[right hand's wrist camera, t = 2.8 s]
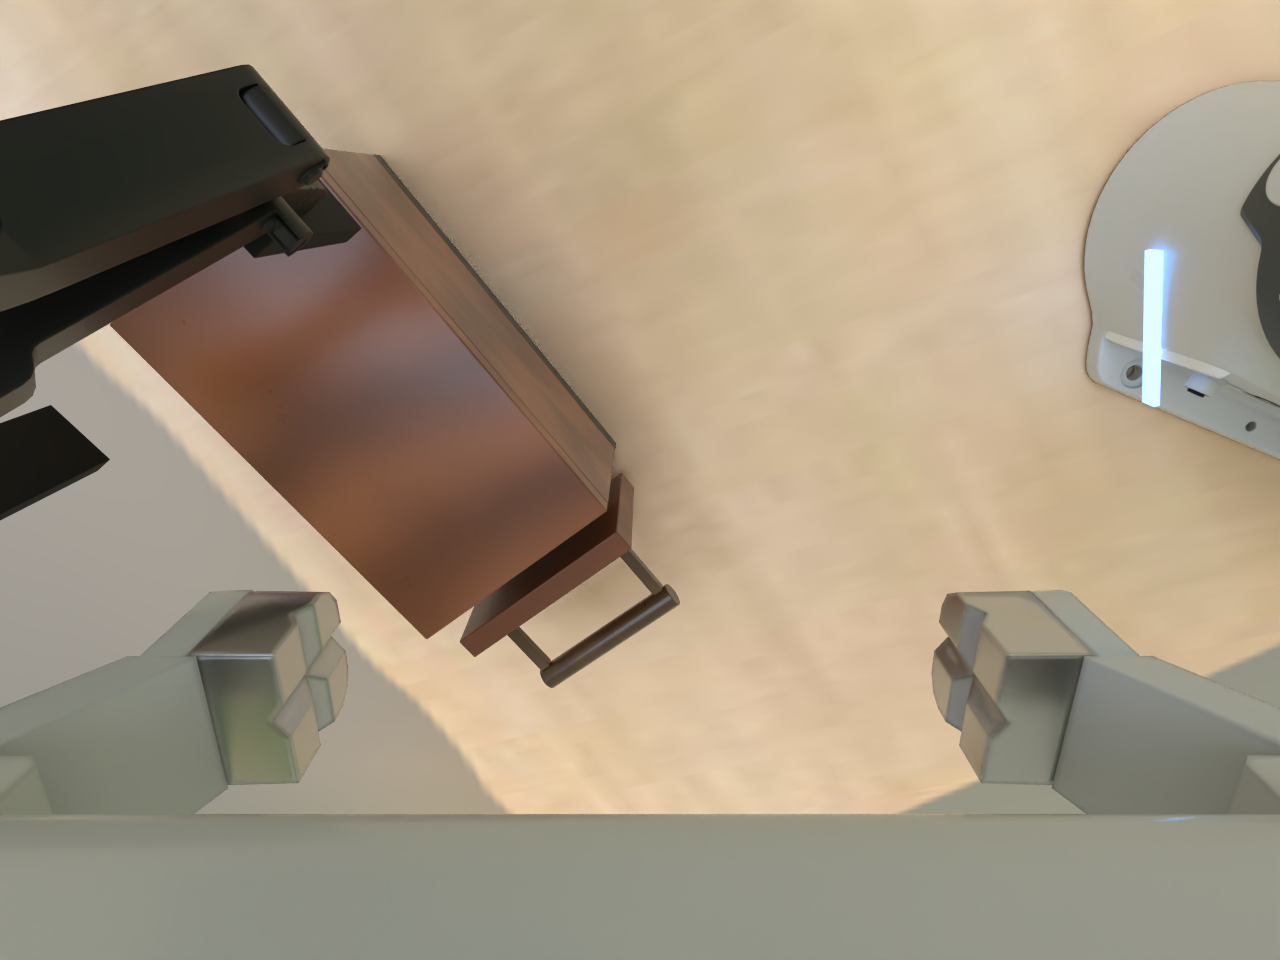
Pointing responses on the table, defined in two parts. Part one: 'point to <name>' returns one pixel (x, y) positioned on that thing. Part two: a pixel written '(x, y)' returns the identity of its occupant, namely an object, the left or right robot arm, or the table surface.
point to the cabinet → (386, 400)
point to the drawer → (561, 576)
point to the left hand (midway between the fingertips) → (193, 326)
